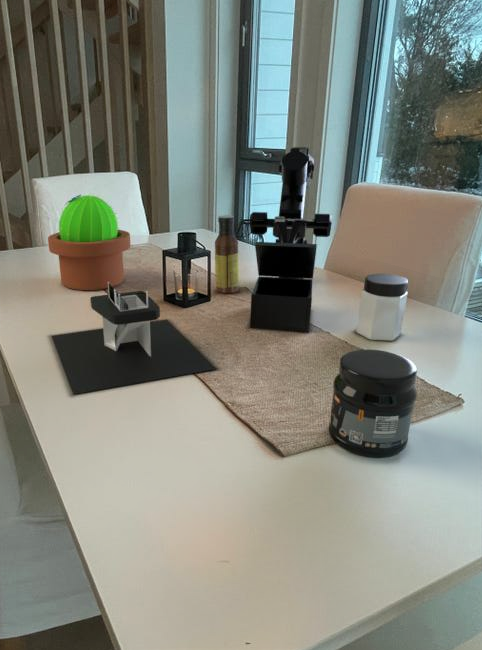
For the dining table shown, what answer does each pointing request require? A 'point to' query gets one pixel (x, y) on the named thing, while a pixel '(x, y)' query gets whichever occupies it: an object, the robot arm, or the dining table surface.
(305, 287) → the black storage bin
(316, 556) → the dining table surface
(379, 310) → the jar
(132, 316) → the black-topped pedestal
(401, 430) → the supplement container
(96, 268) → the potted cactus
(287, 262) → the bin lid
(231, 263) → the sauce bottle
